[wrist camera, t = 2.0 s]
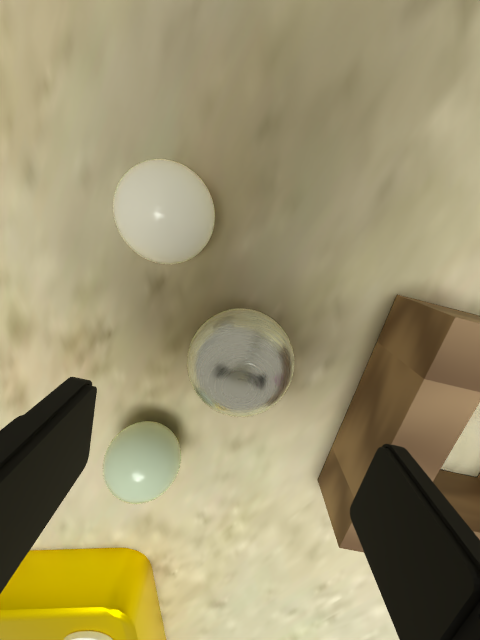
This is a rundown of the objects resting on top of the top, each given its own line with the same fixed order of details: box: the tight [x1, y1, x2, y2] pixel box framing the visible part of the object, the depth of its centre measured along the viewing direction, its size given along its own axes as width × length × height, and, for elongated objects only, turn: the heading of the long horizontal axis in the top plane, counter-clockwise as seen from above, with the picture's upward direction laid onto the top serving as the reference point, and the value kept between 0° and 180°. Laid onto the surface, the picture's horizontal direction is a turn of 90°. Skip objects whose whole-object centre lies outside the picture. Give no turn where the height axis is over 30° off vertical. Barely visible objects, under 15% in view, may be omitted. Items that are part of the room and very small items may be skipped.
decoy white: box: [113, 159, 215, 264], centre depth 13 cm, size 4×4×4 cm
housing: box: [318, 295, 480, 552], centre depth 16 cm, size 14×14×4 cm
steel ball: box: [187, 308, 294, 417], centre depth 14 cm, size 5×5×5 cm
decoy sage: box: [103, 421, 181, 504], centre depth 17 cm, size 4×4×4 cm
